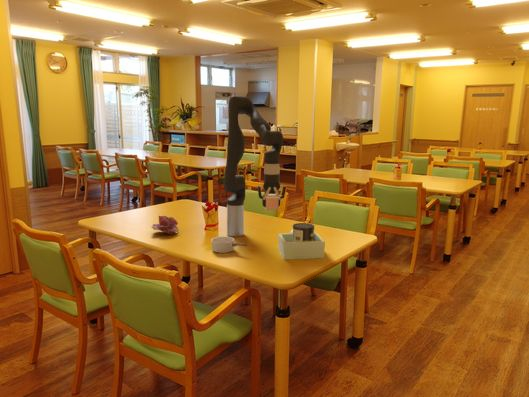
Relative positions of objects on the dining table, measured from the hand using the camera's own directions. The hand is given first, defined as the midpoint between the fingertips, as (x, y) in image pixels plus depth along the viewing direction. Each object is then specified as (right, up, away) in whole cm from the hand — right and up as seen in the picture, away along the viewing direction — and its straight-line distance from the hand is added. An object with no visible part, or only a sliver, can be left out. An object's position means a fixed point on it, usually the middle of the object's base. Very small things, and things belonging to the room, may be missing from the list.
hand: (271, 206), depth 202 cm
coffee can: (+15, -23, -4) cm, 28 cm away
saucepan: (-20, -22, -2) cm, 30 cm away
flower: (-59, -16, +30) cm, 68 cm away
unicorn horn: (+18, -19, +16) cm, 31 cm away
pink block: (0, -1, 0) cm, 1 cm away
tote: (+14, -23, -4) cm, 27 cm away
